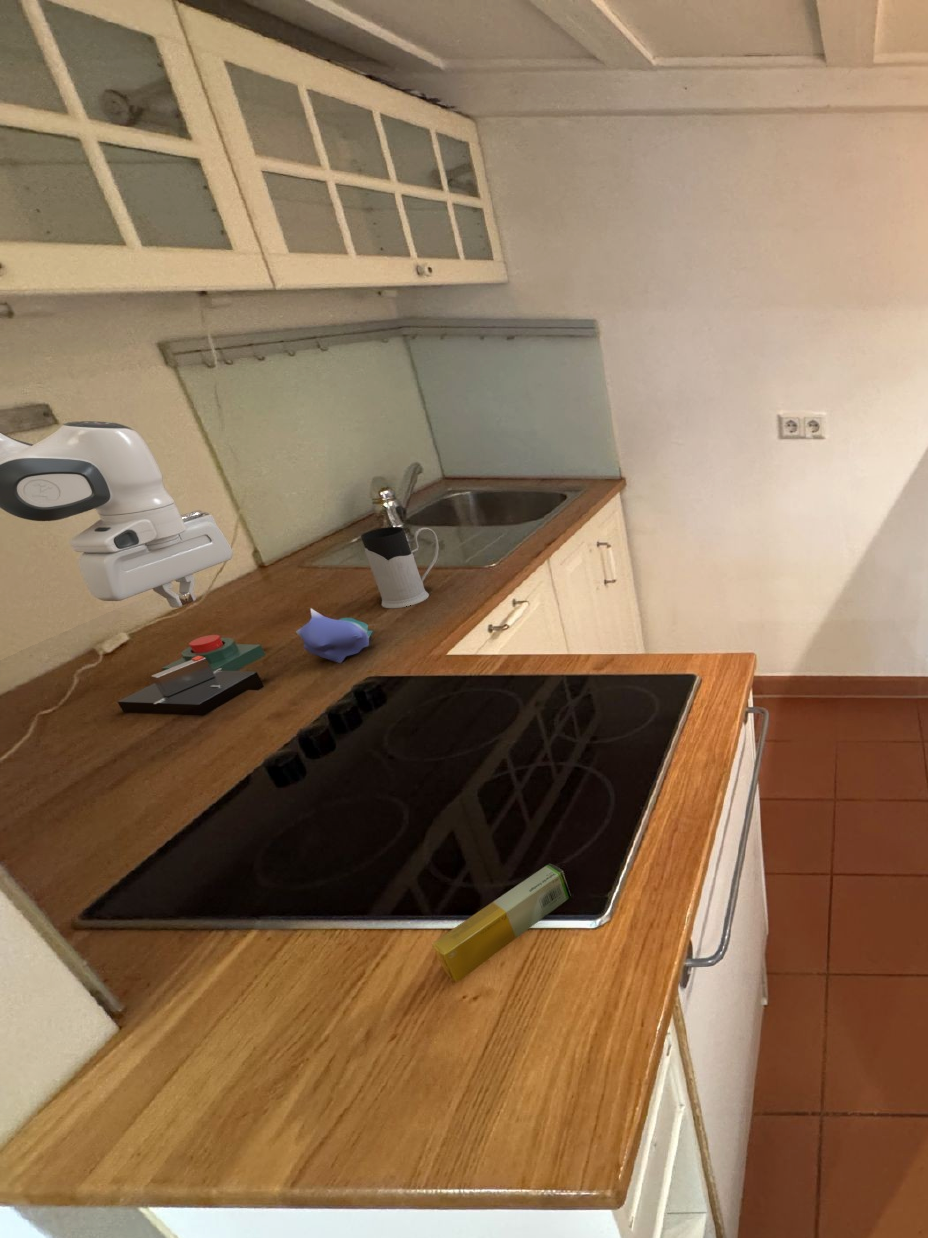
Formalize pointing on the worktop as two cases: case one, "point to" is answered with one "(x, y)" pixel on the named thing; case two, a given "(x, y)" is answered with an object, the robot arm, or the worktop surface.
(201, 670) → the grey switch lever
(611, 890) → the worktop surface
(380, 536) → the glass holder
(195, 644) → the button
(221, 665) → the green control housing
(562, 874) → the medication box
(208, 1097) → the worktop surface
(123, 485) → the robot arm
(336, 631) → the figurine
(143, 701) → the base
